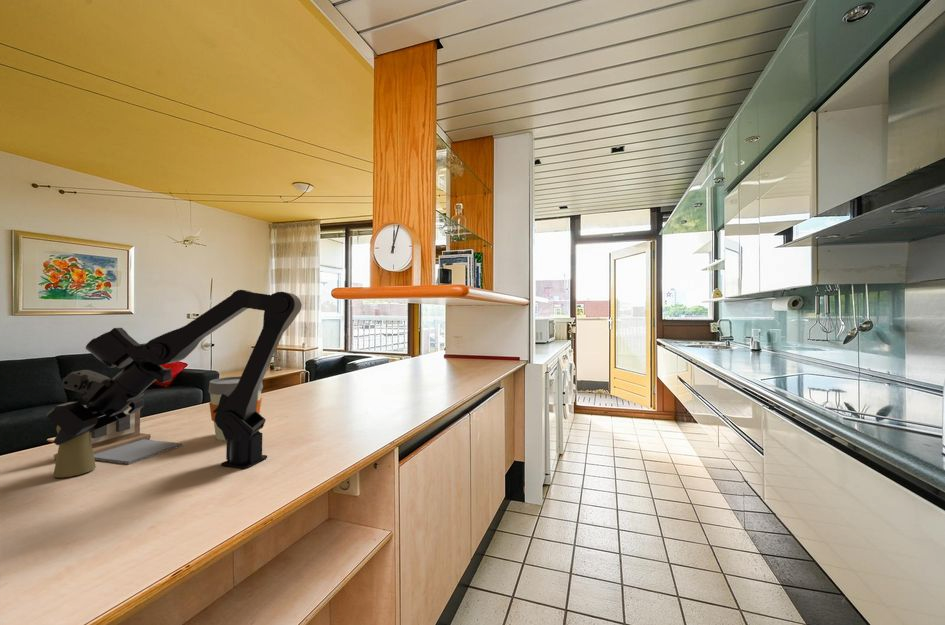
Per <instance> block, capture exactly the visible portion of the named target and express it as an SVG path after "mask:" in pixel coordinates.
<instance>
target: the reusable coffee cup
mask: <svg viewBox="0 0 945 625" xmlns="http://www.w3.org/2000/svg"><path fill="white" fill-rule="evenodd" d="M241 376H242V375H239V376H227V377H220V378H216V379H215V378H214V379H211V380H210V381H209V386H208V391H207V392H208V394H209V395H210V396H209V398H210V402H209V403H208V404H209V411H210V417H211V418H210V419H211V421H212V422H213V425H214V434H215V439H216V440H217V439H218V441H222V440H224V441H225V442H227V441H226V440H225V437H224V435H223V432H222V430H221V429H220V428H219V427H218V426H217V425H216V423H215V415H216V413H217V412H216V413H213V411H214V410H215V409H216V408H217V406H218V404H219V401H220V397H221V395H222V394H224V393H226V392H228V391H230V390H232V389H235V388H236V387H237V385H238V382H239V380H240V378H241ZM263 388H264V385H263V381H262V382H261V384H260V387H259V389H258V401H257V405H256V410H255V411H257V412H258V413H259V414H260V412H261V407H262V406H261V405H262V399H263V398H262V397H261V395H262V390H263Z"/></svg>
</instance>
